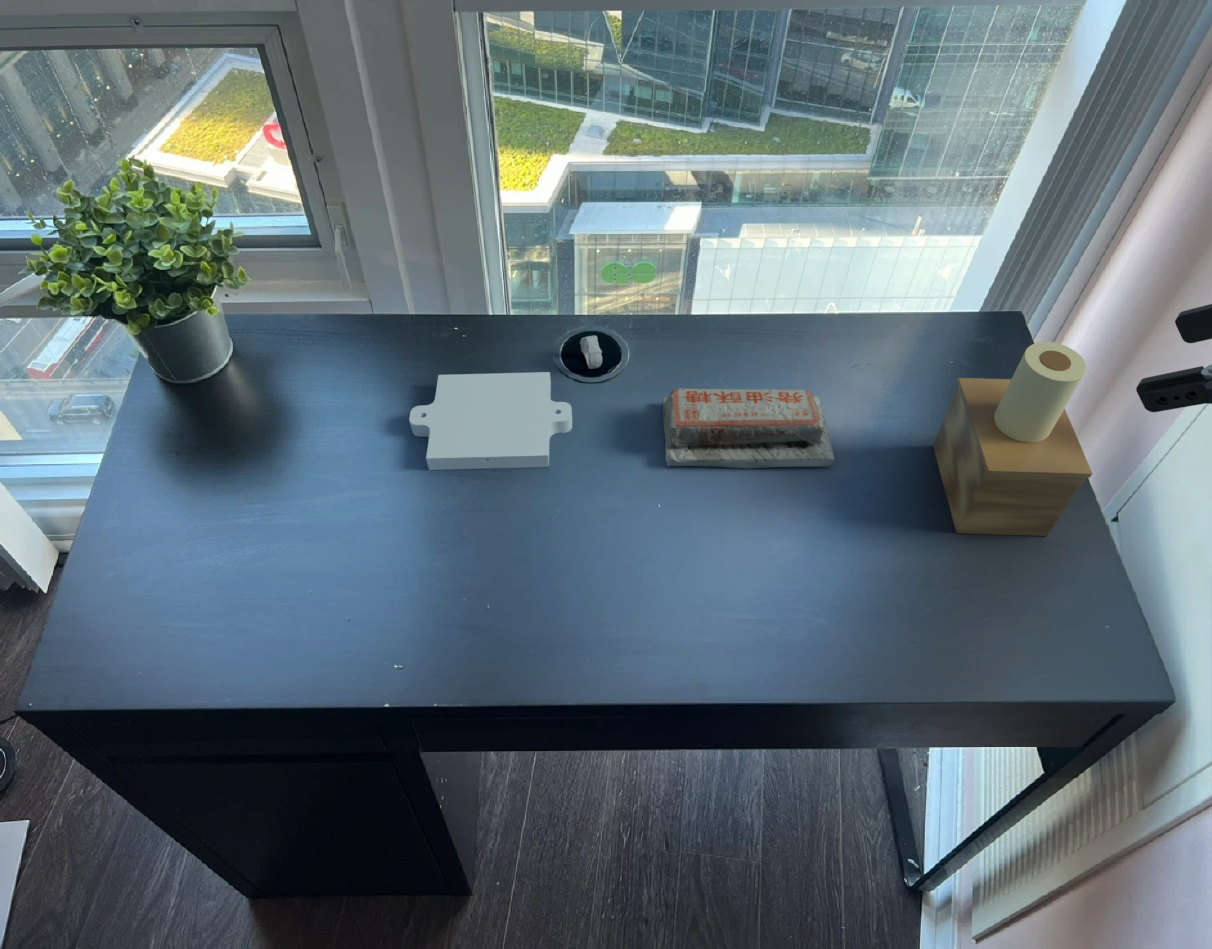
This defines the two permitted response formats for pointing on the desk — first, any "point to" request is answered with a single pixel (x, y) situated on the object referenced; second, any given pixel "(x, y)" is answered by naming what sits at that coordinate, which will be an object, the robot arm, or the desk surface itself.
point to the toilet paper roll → (1039, 391)
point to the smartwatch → (591, 351)
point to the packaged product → (745, 428)
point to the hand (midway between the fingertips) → (1161, 361)
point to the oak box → (1004, 467)
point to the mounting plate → (491, 421)
